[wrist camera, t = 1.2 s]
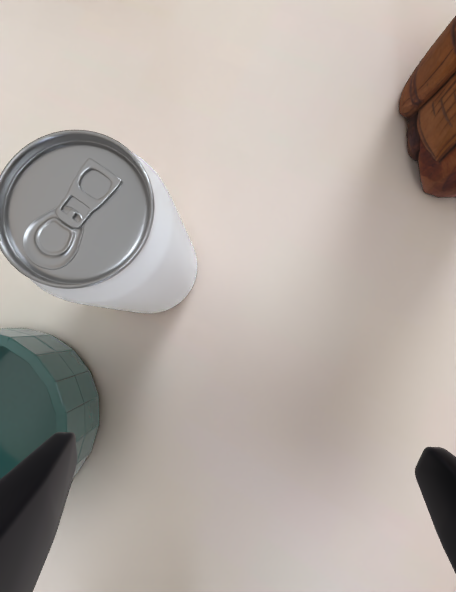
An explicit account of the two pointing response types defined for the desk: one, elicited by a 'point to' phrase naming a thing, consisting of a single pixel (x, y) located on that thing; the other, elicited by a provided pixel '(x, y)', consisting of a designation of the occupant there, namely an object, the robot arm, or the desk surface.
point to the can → (94, 224)
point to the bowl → (43, 396)
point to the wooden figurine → (434, 115)
